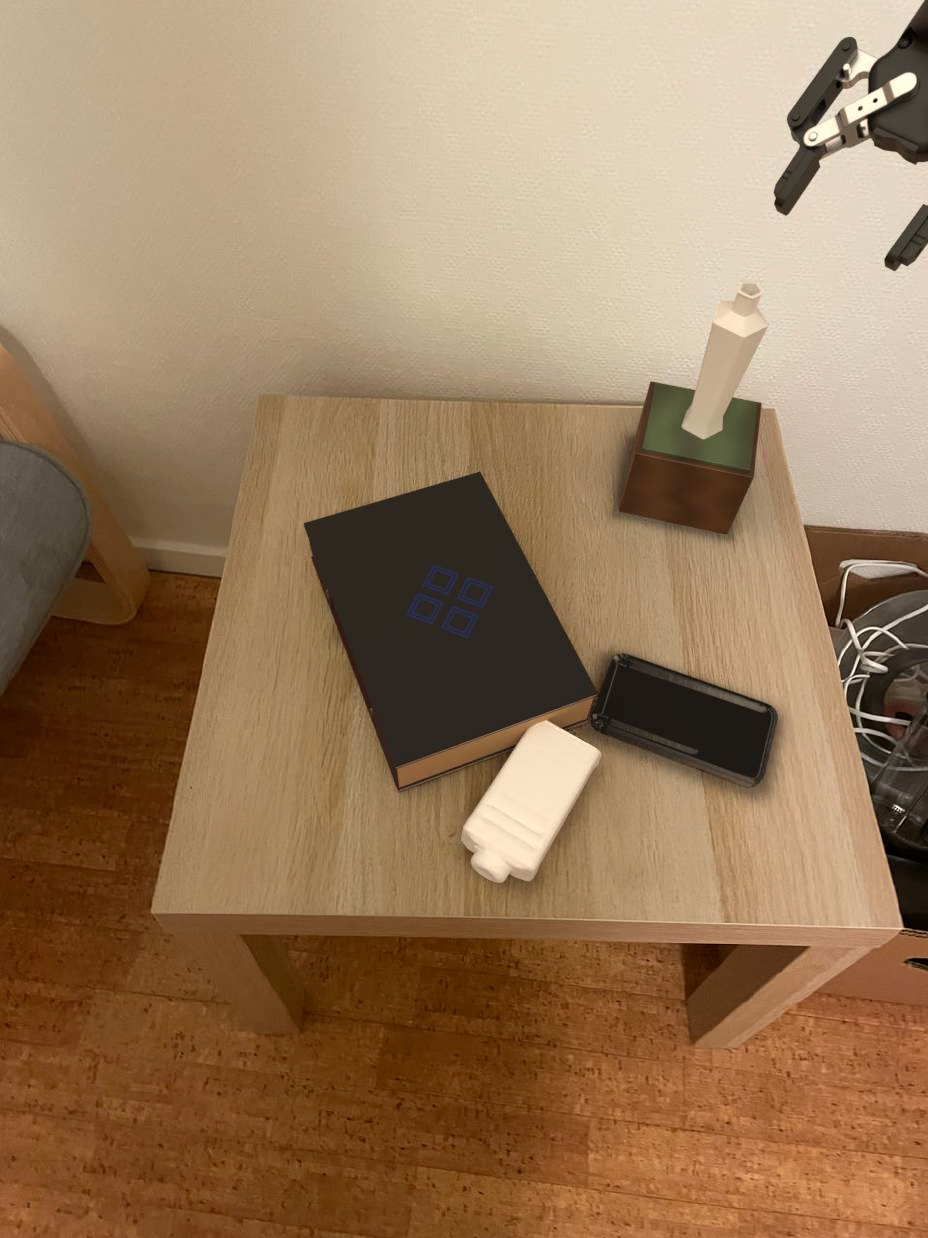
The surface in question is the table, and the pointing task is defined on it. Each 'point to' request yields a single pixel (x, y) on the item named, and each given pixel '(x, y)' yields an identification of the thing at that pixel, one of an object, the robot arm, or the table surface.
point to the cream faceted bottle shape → (726, 359)
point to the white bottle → (528, 803)
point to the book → (446, 628)
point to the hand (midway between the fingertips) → (832, 236)
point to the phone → (686, 719)
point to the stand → (690, 462)
